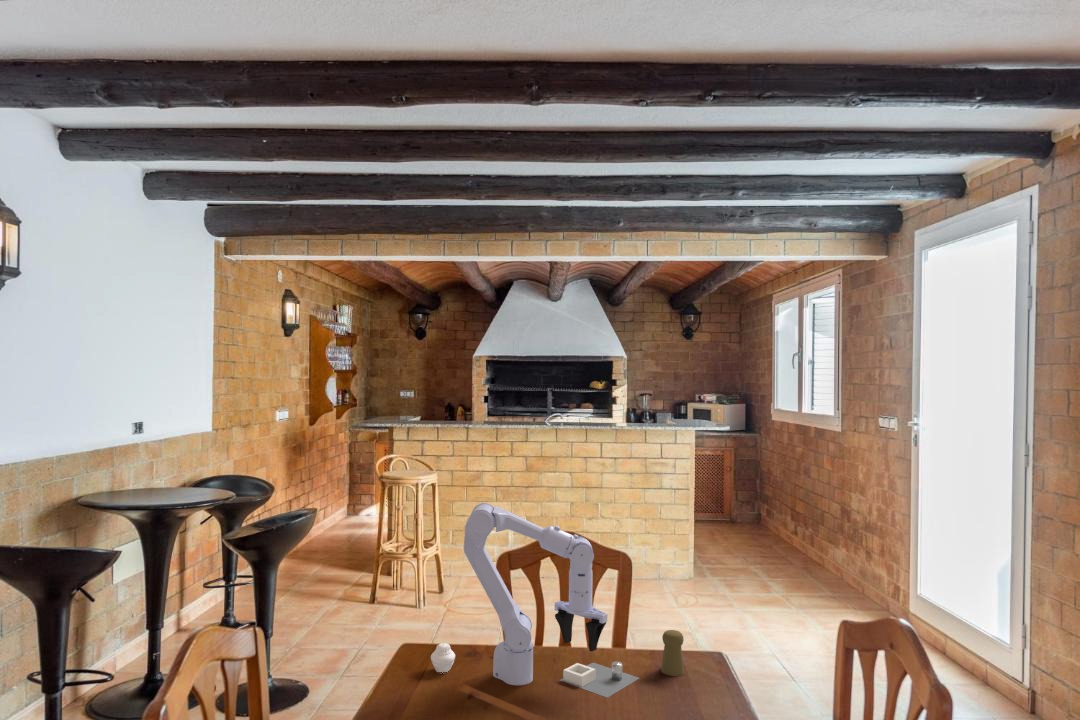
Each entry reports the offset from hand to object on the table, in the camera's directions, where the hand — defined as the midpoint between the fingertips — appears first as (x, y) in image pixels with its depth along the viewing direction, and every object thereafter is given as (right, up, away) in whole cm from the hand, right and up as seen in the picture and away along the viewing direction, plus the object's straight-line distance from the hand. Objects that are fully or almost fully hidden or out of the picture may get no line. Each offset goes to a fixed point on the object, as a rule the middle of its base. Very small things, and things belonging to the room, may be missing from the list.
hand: (580, 646), depth 171 cm
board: (+5, -9, 0) cm, 10 cm away
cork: (+23, -10, +6) cm, 26 cm away
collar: (0, -8, 0) cm, 8 cm away
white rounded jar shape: (-34, -9, +7) cm, 36 cm away
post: (+9, -8, +1) cm, 12 cm away
